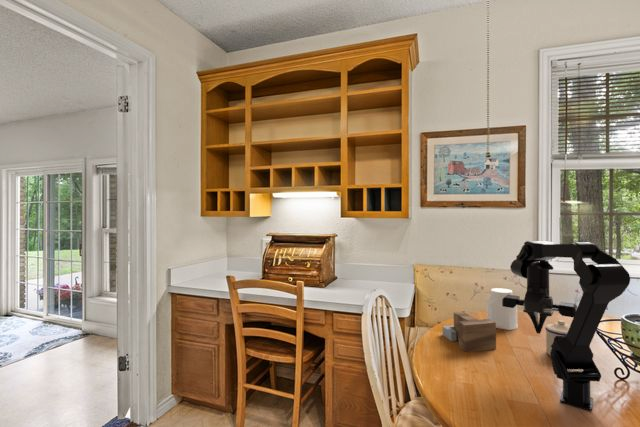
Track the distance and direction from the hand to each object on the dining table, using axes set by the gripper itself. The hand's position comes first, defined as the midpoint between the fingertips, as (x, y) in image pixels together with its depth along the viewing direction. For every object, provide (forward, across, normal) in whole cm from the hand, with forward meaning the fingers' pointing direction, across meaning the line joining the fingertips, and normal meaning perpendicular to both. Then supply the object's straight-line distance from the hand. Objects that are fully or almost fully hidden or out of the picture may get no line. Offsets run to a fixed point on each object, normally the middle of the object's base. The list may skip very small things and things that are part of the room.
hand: (538, 333), depth 104 cm
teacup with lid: (+12, +4, +20) cm, 24 cm away
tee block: (+12, -24, +10) cm, 29 cm away
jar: (+12, -19, +38) cm, 44 cm away
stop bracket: (+12, -28, +14) cm, 34 cm away
